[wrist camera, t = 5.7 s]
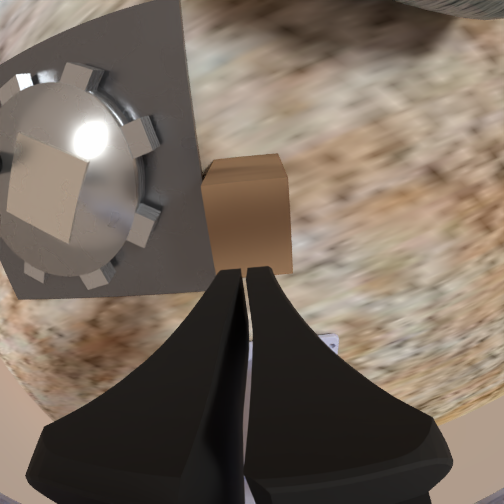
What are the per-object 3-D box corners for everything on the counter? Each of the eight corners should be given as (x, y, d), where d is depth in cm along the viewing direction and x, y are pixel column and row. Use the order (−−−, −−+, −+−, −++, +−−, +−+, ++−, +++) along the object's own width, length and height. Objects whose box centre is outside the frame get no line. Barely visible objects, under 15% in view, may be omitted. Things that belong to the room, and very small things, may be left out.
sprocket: (206, 110, 15) (184, 119, 10) (126, 307, 21) (100, 366, 16) (11, 45, 12) (-50, 47, 7) (-21, 229, 18) (-64, 266, 13)
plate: (221, 286, 21) (220, 290, 20) (20, 296, 22) (17, 300, 21) (180, -4, 12) (177, -6, 12) (-39, 93, 13) (-44, 94, 13)
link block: (283, 227, 19) (292, 273, 15) (224, 232, 19) (216, 279, 15) (277, 153, 17) (287, 177, 12) (214, 159, 17) (200, 186, 12)
